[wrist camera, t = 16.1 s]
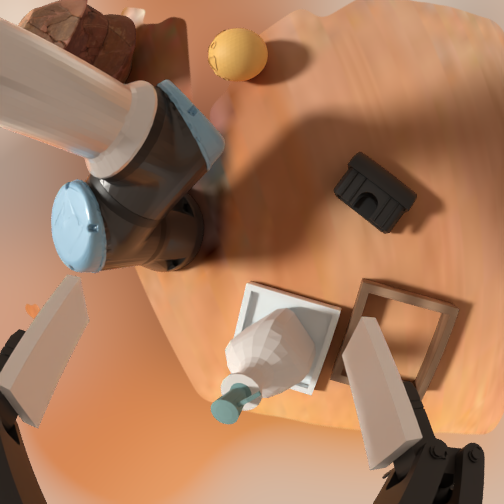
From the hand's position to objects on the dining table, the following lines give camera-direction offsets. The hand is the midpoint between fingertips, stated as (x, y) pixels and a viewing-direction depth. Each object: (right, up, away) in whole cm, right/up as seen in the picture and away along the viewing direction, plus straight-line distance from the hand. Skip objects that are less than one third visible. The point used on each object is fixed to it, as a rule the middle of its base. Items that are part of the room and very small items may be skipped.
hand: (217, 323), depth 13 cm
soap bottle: (+6, -11, +34) cm, 36 cm away
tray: (+7, -11, +35) cm, 37 cm away
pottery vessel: (-31, +45, +45) cm, 71 cm away
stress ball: (+1, +36, +34) cm, 50 cm away
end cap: (+20, +11, +29) cm, 37 cm away
